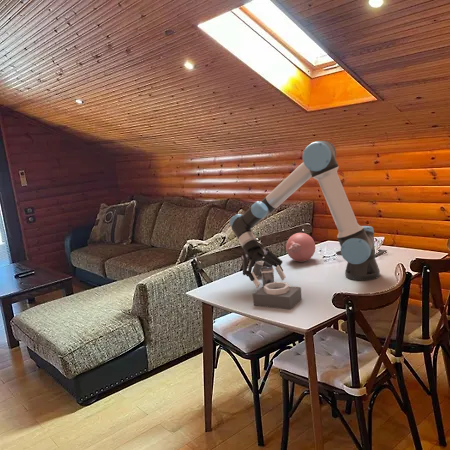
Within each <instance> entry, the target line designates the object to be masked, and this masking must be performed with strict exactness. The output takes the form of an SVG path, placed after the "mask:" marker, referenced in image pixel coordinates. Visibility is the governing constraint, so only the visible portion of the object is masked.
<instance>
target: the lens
mask: <svg viewBox="0 0 450 450" xmlns="http://www.w3.org/2000/svg"><path fill="white" fill-rule="evenodd" d="M274 273H275V271H274V266H263V267H261V271H260V274H261V282H262V287H263V286H264V285H265V284H268V283H273V282H275V277H274V276H275V275H274Z"/></svg>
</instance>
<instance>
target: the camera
mask: <svg viewBox="0 0 450 450" xmlns="http://www.w3.org/2000/svg"><path fill="white" fill-rule="evenodd" d="M263 258H264V257H263ZM263 266H272V267H274V266H273V265H271V264H269V263H267V262H265V261H262V260H261V261H257V262H254V263H253V267H252V271H251V273H252V272H254V274H255V276H256V278H257V277H259V276H260V274H261V267H263Z"/></svg>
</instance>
